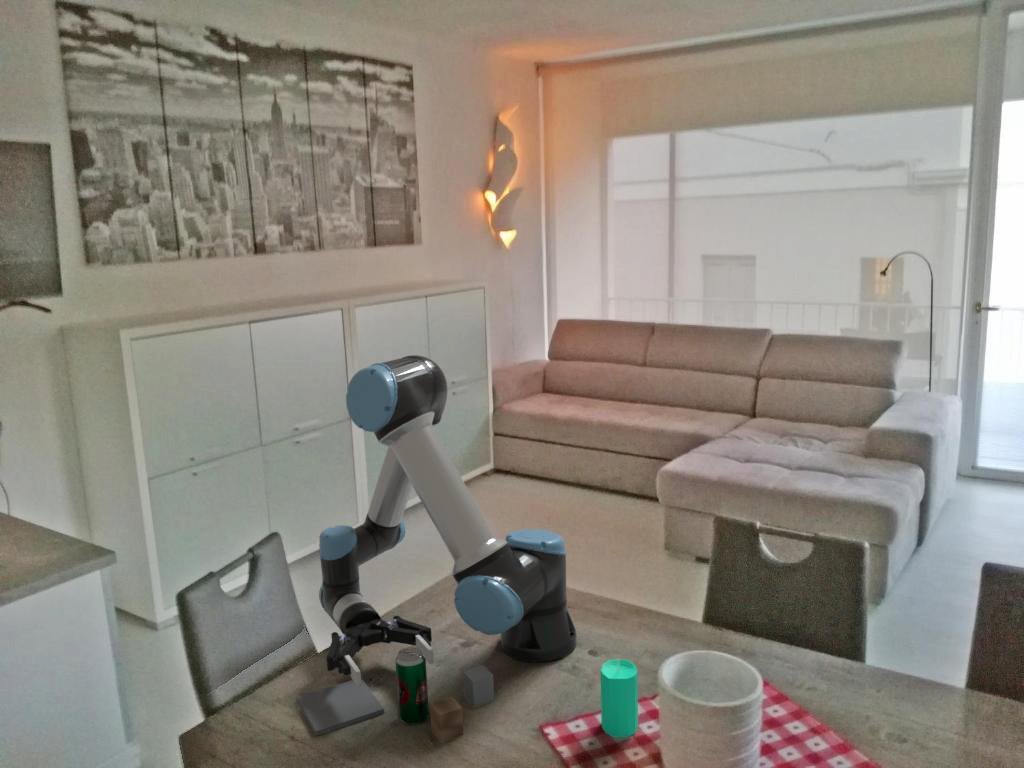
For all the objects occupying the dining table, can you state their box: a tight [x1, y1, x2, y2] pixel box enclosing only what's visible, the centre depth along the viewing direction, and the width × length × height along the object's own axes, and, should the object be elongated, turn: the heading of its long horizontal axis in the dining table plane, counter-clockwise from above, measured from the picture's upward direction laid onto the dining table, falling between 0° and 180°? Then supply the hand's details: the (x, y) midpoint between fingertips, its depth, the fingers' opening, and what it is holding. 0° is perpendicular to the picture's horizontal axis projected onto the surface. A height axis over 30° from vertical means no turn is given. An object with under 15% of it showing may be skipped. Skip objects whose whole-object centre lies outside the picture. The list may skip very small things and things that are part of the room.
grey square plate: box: [296, 677, 385, 736], centre depth 145 cm, size 12×12×1 cm
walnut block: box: [429, 695, 464, 744], centre depth 136 cm, size 4×4×5 cm
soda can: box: [394, 646, 430, 725], centre depth 140 cm, size 5×5×12 cm
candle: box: [600, 659, 639, 738], centre depth 135 cm, size 6×6×12 cm
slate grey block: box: [462, 664, 495, 709], centre depth 146 cm, size 4×4×5 cm
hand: (396, 667), depth 145 cm, fingers open, 13 cm apart
